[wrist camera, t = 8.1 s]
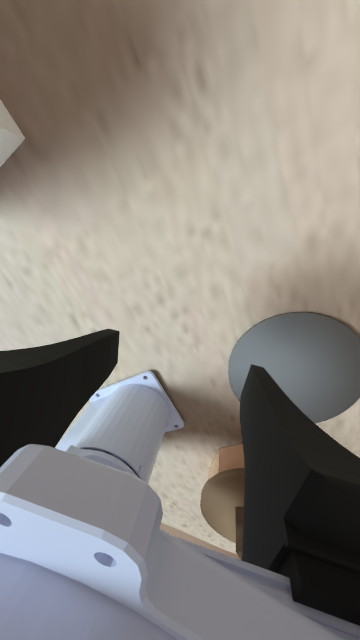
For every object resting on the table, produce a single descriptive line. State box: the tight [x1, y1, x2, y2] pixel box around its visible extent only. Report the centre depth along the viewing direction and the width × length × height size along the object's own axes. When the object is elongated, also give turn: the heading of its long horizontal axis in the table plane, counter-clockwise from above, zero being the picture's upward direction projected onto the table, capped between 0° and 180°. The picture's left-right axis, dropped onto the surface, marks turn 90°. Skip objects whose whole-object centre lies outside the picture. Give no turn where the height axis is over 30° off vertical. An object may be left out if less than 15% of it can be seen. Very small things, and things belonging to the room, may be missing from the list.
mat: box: [228, 312, 360, 423], centre depth 21 cm, size 12×12×1 cm
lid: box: [200, 468, 244, 560], centre depth 21 cm, size 11×11×4 cm
